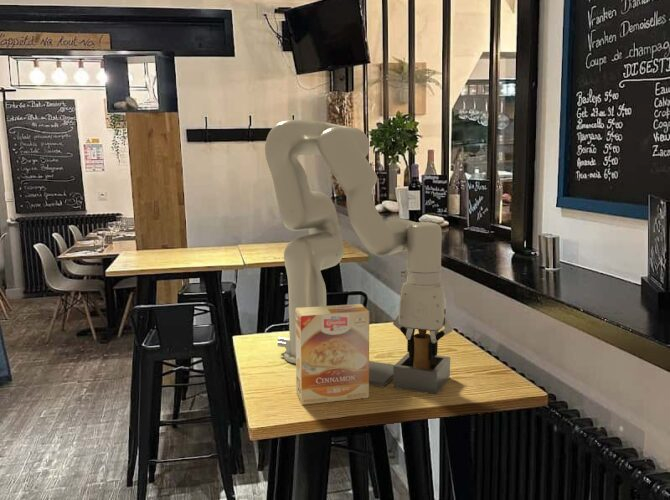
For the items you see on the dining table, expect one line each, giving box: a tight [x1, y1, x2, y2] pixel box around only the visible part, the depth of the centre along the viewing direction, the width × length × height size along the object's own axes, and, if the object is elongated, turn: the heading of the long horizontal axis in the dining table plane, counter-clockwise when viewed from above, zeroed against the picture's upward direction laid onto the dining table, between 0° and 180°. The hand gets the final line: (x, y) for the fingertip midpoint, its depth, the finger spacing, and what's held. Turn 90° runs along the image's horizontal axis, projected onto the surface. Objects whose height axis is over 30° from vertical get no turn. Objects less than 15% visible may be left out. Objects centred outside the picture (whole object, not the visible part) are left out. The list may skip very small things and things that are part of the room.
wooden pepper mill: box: [413, 329, 433, 370], centre depth 142 cm, size 7×6×18 cm
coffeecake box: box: [295, 303, 370, 406], centre depth 135 cm, size 15×7×20 cm, turn 103°
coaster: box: [369, 360, 395, 387], centre depth 148 cm, size 10×12×1 cm
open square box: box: [392, 351, 451, 395], centre depth 143 cm, size 10×11×5 cm
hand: (422, 355), depth 142 cm, fingers closed on wooden pepper mill, 3 cm apart
